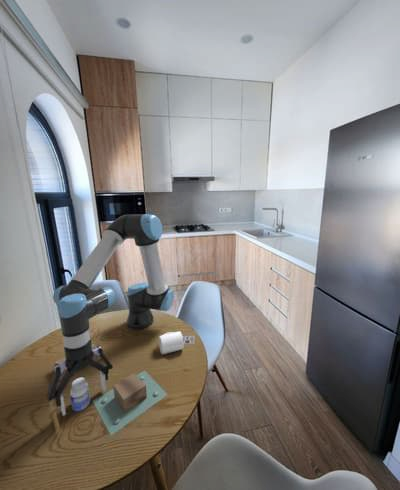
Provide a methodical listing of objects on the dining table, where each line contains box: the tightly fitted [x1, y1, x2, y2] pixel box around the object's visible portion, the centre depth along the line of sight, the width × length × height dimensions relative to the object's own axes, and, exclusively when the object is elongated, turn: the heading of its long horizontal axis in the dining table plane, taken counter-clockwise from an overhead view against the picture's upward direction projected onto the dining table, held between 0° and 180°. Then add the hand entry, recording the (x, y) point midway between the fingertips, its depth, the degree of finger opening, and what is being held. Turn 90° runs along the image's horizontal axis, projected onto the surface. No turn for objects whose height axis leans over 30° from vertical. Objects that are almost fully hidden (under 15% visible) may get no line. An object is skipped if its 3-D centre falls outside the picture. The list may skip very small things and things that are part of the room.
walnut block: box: [113, 372, 147, 413], centre depth 75 cm, size 8×8×5 cm
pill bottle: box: [69, 377, 91, 412], centre depth 73 cm, size 5×5×10 cm
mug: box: [158, 331, 185, 355], centre depth 103 cm, size 12×10×8 cm
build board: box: [92, 370, 168, 437], centre depth 75 cm, size 20×16×2 cm
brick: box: [54, 343, 102, 381], centre depth 93 cm, size 17×8×5 cm, turn 136°
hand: (85, 399), depth 73 cm, fingers open, 12 cm apart
